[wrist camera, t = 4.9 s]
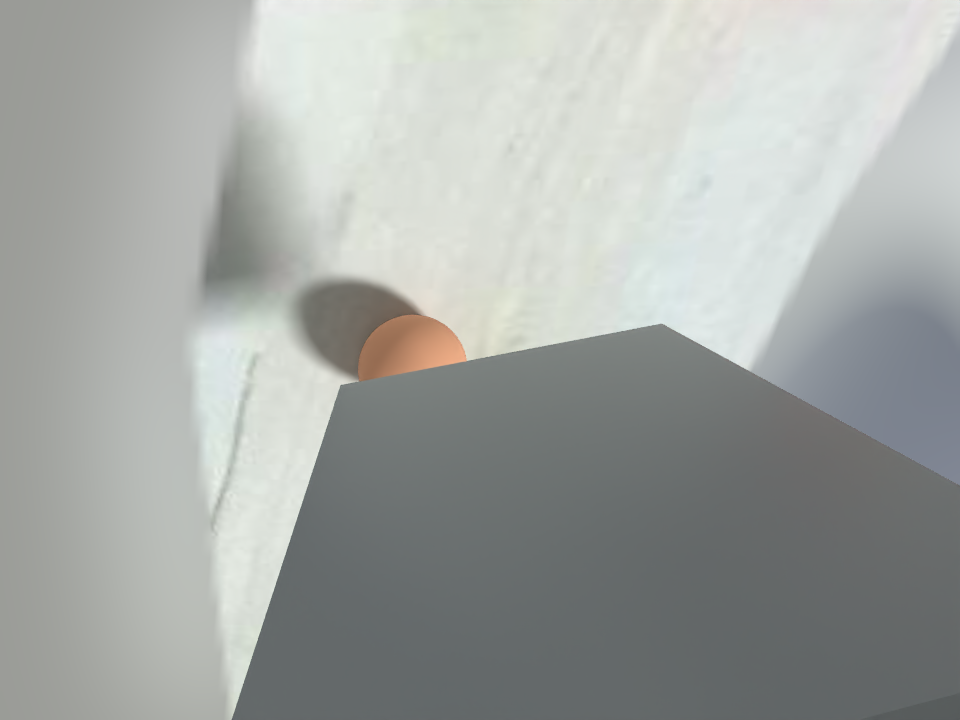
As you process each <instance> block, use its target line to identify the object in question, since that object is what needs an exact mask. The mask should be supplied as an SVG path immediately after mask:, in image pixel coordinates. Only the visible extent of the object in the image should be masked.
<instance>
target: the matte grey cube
mask: <svg viewBox="0 0 960 720" xmlns="http://www.w3.org/2000/svg"><path fill="white" fill-rule="evenodd" d="M232 720H960V485H958V484H956V483H954V482H952V481H950V480H949V479H947V478H945V477H943V476H941V475H939V474H938V473H936V472H934V471H932V470H930V469H928V468H926V467H924V466H923V465H921V464H919V463H917V462H915V461H914V460H912V459H910V458H908V457H906V456H904V455H903V454H901V453H899V452H897V451H895V450H893V449H891V448H890V447H887V446H886V445H884V444H882V443H880V442H878V441H877V440H875V439H873V438H871V437H869V436H868V435H866V434H864V433H862V432H860V431H858V430H856V429H855V428H853V427H851V426H849V425H847V424H845V423H844V422H842V421H840V420H838V419H836V418H834V417H833V416H831V415H829V414H827V413H825V412H823V411H821V410H820V409H818V408H816V407H814V406H812V405H810V404H808V403H807V402H805V401H803V400H801V399H799V398H797V397H796V396H794V395H792V394H790V393H788V392H786V391H785V390H783V389H781V388H779V387H777V386H775V385H774V384H772V383H770V382H768V381H766V380H764V379H762V378H761V377H759V376H757V375H755V374H753V373H752V372H750V371H748V370H746V369H744V368H742V367H740V366H739V365H737V364H735V363H733V362H731V361H729V360H728V359H726V358H724V357H722V356H720V355H718V354H717V353H715V352H713V351H711V350H709V349H707V348H705V347H704V346H702V345H700V344H698V343H696V342H694V341H693V340H691V339H689V338H687V337H685V336H683V335H682V334H680V333H678V332H676V331H674V330H672V329H670V328H669V327H667V326H665V325H663V324H658V325H653V326H648V327H642V328H637V329H632V330H627V331H621V332H616V333H611V334H606V335H601V336H595V337H590V338H585V339H580V340H574V341H569V342H564V343H559V344H553V345H548V346H543V347H538V348H533V349H527V350H522V351H517V352H512V353H506V354H501V355H496V356H491V357H486V358H480V359H475V360H470V361H465V362H459V363H454V364H449V365H444V366H438V367H433V368H428V369H423V370H418V371H412V372H407V373H402V374H397V375H391V376H386V377H381V378H376V379H370V380H365V381H360V382H355V383H350V384H344V385H341V386H340V389H339V392H338V395H337V398H336V401H335V404H334V407H333V410H332V414H331V417H330V420H329V423H328V426H327V429H326V432H325V435H324V438H323V441H322V444H321V447H320V450H319V453H318V457H317V460H316V463H315V466H314V469H313V472H312V475H311V478H310V481H309V484H308V487H307V490H306V493H305V496H304V500H303V503H302V506H301V509H300V512H299V515H298V518H297V521H296V524H295V527H294V530H293V533H292V536H291V540H290V543H289V546H288V549H287V552H286V555H285V558H284V561H283V564H282V567H281V570H280V573H279V576H278V579H277V583H276V586H275V589H274V592H273V595H272V598H271V601H270V604H269V607H268V610H267V613H266V616H265V619H264V622H263V626H262V629H261V632H260V635H259V638H258V641H257V644H256V647H255V650H254V653H253V656H252V659H251V662H250V665H249V669H248V672H247V675H246V678H245V681H244V684H243V687H242V690H241V693H240V696H239V699H238V702H237V705H236V709H235V712H234V715H233V718H232Z"/></svg>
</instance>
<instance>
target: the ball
mask: <svg viewBox="0 0 960 720" xmlns="http://www.w3.org/2000/svg"><path fill="white" fill-rule="evenodd" d="M465 361H467V360H466V355H465V351H464V349H463V347H462V344H461V343H460V341H459V339H458V338H457V336H456V335H455V334H454V333H453V332H452V331H451V330H450V329H449V328H448V327H447V326H445V325H444V324H443V323H441V322H439V321H437V320H435V319H433V318H430V317H427V316H422V315H404V316H399V317H396V318H393V319H391V320H388V321H387V322H385V323H383V324H381V325H380V326H379V327H378V328H376V329H375V330H374V331H373V332H372V333H371V335H370V336H369V337H368V339H367V340H366V342H365V344H364V346H363V348H362V350H361V353H360V357H359V364H358V375H359V381H365V380H370V379H376V378H381V377H386V376H391V375H397V374H402V373H407V372H412V371H418V370H423V369H428V368H433V367H438V366H444V365H449V364H454V363H459V362H465Z"/></svg>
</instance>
